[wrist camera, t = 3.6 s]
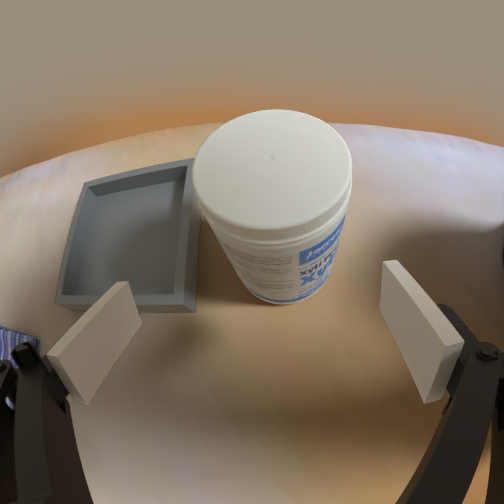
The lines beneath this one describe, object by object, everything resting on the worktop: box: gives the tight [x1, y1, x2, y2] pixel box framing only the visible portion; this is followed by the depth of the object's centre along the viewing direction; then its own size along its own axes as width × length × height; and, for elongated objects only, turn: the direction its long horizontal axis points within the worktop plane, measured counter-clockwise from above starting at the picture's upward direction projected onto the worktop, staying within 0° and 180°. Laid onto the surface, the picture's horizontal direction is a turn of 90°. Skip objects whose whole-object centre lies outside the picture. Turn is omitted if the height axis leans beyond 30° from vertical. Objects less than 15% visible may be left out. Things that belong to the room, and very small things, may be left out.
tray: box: [55, 158, 201, 313], centre depth 31 cm, size 17×17×3 cm
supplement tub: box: [192, 110, 352, 305], centre depth 22 cm, size 10×10×15 cm
